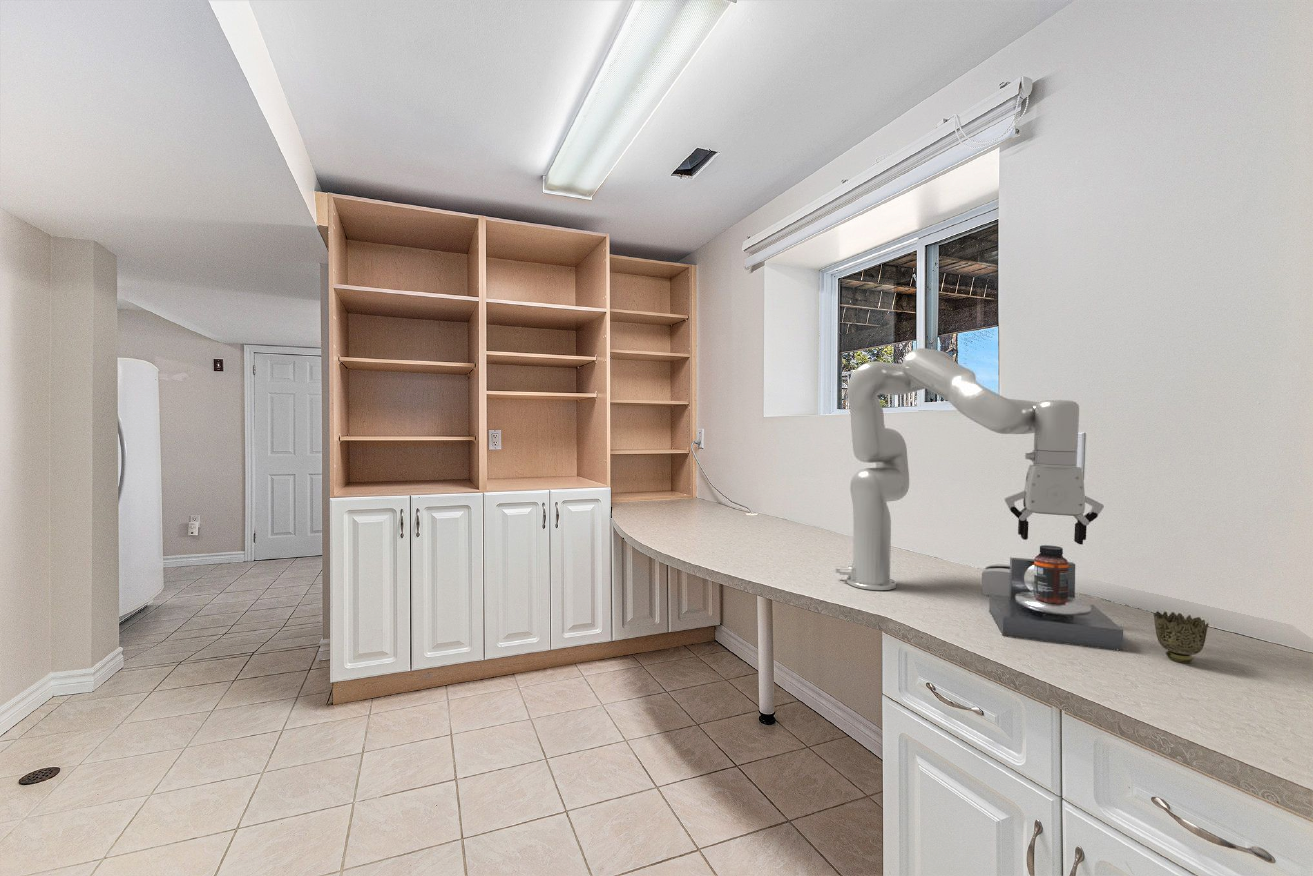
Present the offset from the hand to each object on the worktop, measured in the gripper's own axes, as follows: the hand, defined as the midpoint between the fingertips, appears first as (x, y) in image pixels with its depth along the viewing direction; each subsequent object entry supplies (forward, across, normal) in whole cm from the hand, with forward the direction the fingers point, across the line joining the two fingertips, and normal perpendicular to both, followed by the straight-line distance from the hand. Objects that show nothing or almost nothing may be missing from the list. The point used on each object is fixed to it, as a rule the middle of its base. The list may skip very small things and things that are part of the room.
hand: (1050, 540), depth 120 cm
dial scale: (+19, +1, +1) cm, 19 cm away
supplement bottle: (+13, 0, 0) cm, 13 cm away
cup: (+19, +19, -9) cm, 28 cm away
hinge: (+20, -1, +22) cm, 29 cm away
